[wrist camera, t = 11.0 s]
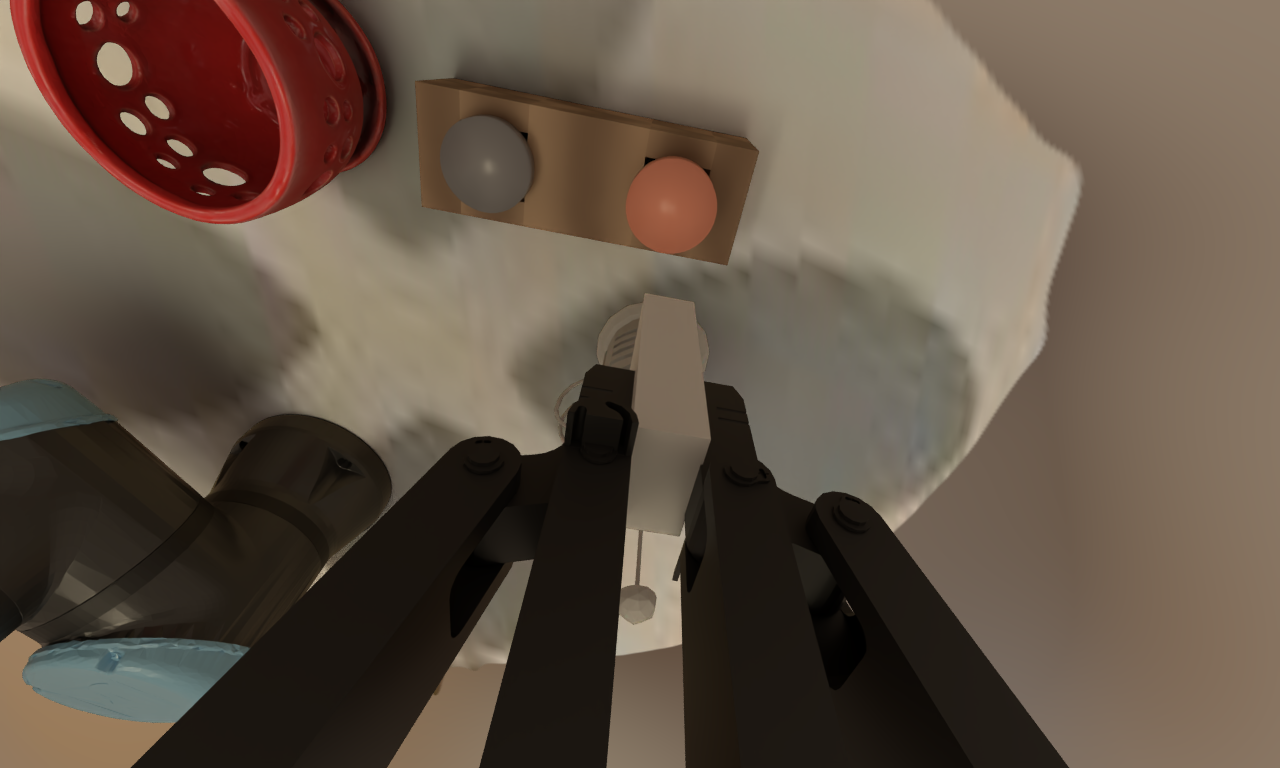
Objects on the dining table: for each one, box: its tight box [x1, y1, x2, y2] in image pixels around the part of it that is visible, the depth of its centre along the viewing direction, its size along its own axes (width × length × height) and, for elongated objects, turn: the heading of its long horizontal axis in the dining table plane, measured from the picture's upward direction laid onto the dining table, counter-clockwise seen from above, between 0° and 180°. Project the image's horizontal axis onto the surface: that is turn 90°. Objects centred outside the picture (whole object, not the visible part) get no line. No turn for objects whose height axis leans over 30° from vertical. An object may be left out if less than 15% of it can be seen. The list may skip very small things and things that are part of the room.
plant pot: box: [10, 0, 387, 224], centre depth 29 cm, size 13×13×12 cm
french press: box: [554, 302, 710, 625], centre depth 34 cm, size 10×12×25 cm
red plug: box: [626, 156, 717, 254], centre depth 32 cm, size 5×5×7 cm
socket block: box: [415, 78, 759, 265], centre depth 34 cm, size 20×7×6 cm, turn 80°
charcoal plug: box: [440, 115, 534, 213], centre depth 32 cm, size 5×5×7 cm
